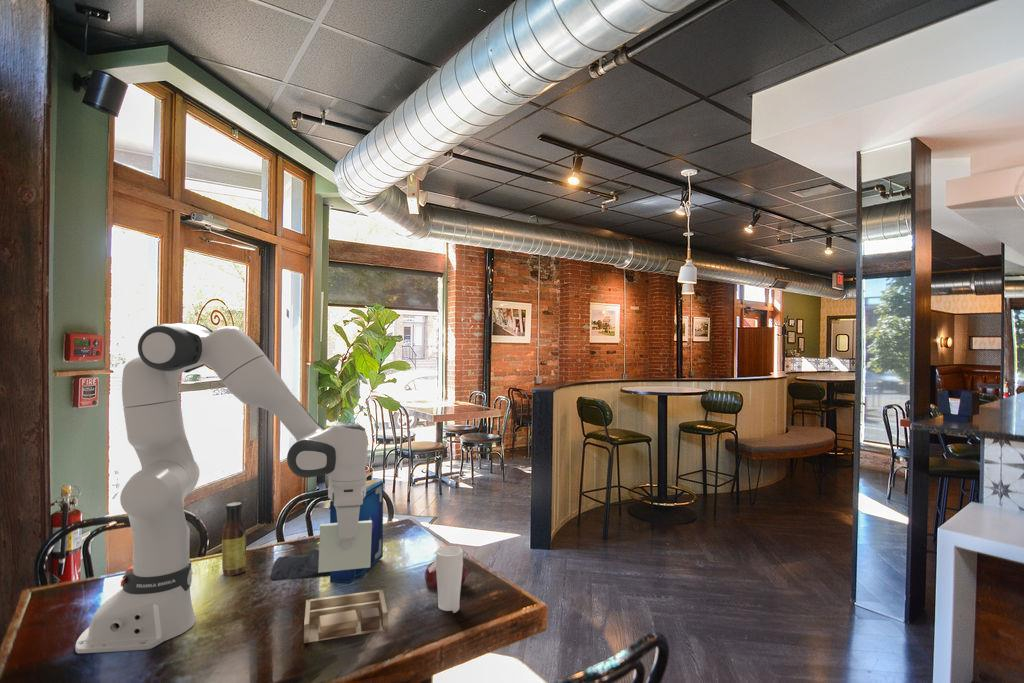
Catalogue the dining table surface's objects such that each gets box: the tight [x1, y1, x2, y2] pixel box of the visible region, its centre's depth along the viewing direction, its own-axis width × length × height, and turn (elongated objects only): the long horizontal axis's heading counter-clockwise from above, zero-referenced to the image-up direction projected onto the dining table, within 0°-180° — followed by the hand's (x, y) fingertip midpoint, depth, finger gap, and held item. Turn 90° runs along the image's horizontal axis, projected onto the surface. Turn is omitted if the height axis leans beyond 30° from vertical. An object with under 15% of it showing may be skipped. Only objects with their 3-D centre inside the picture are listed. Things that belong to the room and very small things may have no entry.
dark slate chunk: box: [270, 549, 330, 581], centre depth 159 cm, size 15×22×5 cm
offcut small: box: [361, 608, 380, 631], centre depth 124 cm, size 4×4×3 cm
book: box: [329, 479, 384, 585], centre depth 156 cm, size 22×7×25 cm, turn 169°
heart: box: [424, 559, 469, 590], centre depth 148 cm, size 12×8×10 cm
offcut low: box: [318, 623, 356, 639], centre depth 121 cm, size 8×5×2 cm, turn 109°
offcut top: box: [319, 610, 358, 633], centre depth 121 cm, size 8×5×2 cm, turn 113°
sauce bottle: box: [221, 501, 247, 577], centre depth 155 cm, size 6×6×20 cm
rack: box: [303, 589, 389, 644], centre depth 125 cm, size 18×12×5 cm, turn 109°
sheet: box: [318, 520, 372, 573], centre depth 129 cm, size 12×2×11 cm, turn 109°
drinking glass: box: [435, 545, 464, 614], centre depth 134 cm, size 7×7×15 cm
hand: (345, 546), depth 129 cm, fingers closed on sheet, 2 cm apart
